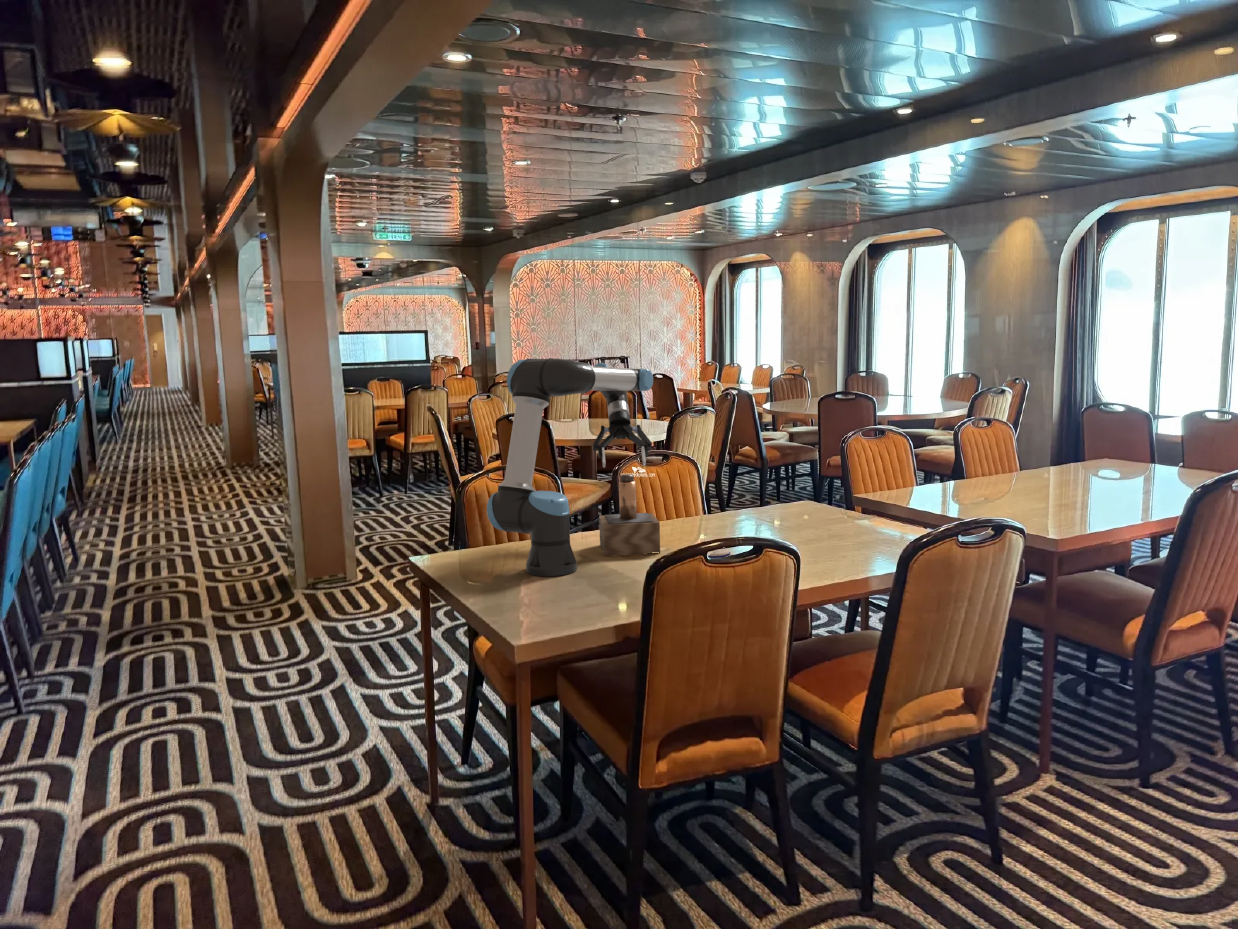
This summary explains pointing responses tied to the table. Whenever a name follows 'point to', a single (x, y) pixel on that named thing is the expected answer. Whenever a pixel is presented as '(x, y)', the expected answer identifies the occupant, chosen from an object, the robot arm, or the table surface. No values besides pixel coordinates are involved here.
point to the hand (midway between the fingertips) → (624, 464)
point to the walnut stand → (629, 534)
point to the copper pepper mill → (627, 497)
